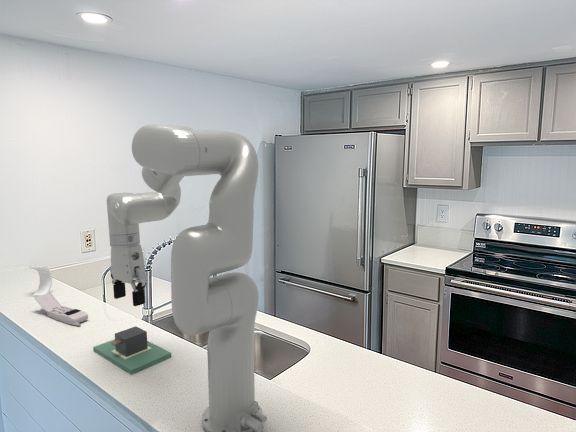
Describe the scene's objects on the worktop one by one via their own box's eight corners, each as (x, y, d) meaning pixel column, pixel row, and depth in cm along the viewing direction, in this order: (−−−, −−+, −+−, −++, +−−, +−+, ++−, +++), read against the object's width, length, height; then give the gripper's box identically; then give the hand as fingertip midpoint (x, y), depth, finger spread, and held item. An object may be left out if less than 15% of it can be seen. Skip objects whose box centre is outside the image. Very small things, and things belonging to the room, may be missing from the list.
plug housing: (147, 348, 118) (146, 331, 117) (119, 359, 112) (118, 342, 111) (136, 342, 122) (135, 326, 121) (108, 353, 115) (107, 336, 115)
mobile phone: (49, 292, 152) (92, 305, 139) (51, 307, 153) (93, 322, 140) (32, 297, 147) (74, 311, 134) (34, 313, 148) (76, 328, 135)
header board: (171, 357, 116) (170, 342, 115) (131, 374, 107) (130, 359, 106) (132, 336, 129) (131, 323, 128) (93, 350, 120) (92, 337, 119)
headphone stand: (32, 297, 163) (29, 266, 162) (42, 291, 169) (39, 262, 168) (43, 297, 163) (41, 267, 161) (53, 292, 169) (50, 262, 167)
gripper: (155, 240, 110) (159, 303, 112) (121, 233, 121) (125, 291, 123) (129, 245, 104) (133, 312, 107) (95, 238, 115) (100, 298, 118)
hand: (129, 301), depth 115 cm, fingers open, 9 cm apart
